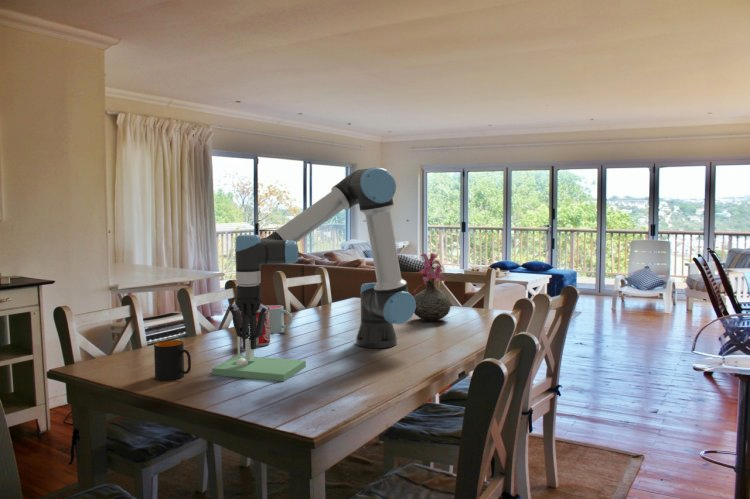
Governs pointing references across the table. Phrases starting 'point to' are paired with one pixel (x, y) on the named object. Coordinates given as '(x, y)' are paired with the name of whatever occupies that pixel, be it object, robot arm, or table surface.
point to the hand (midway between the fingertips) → (249, 359)
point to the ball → (242, 362)
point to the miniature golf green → (260, 367)
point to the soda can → (264, 331)
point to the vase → (431, 294)
